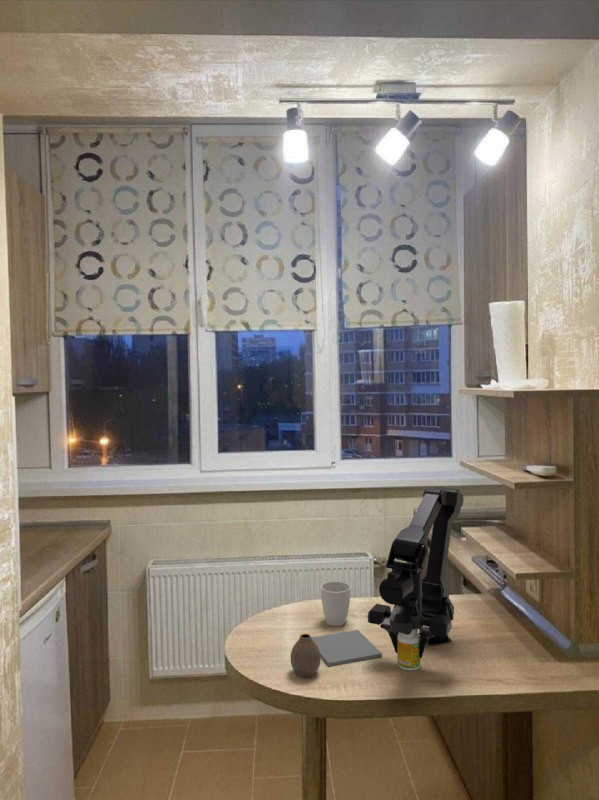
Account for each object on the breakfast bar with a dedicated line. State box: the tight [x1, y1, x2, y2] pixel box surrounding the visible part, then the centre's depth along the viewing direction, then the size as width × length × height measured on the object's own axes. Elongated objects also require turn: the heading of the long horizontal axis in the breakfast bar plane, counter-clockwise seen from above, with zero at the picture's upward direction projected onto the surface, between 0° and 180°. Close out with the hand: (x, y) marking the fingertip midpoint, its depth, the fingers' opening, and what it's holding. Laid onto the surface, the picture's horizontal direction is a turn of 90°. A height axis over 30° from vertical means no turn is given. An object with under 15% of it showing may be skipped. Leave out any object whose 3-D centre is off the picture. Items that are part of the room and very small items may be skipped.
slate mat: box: [311, 629, 383, 667], centre depth 153 cm, size 14×14×1 cm
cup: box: [320, 580, 351, 627], centre depth 168 cm, size 8×8×10 cm
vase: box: [290, 633, 322, 678], centre depth 141 cm, size 7×7×9 cm
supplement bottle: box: [396, 629, 422, 672], centre depth 144 cm, size 5×5×10 cm
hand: (409, 655), depth 144 cm, fingers closed on supplement bottle, 5 cm apart
